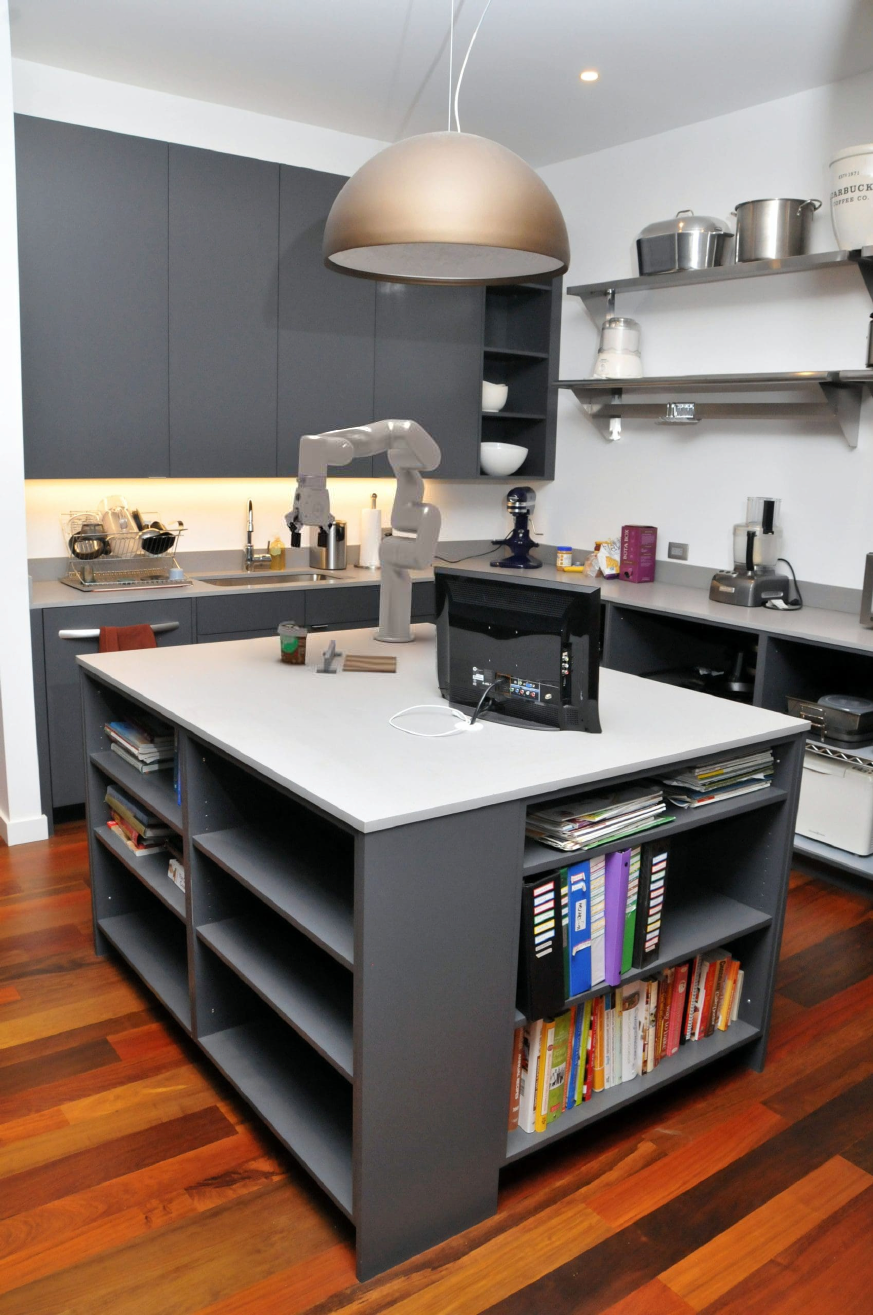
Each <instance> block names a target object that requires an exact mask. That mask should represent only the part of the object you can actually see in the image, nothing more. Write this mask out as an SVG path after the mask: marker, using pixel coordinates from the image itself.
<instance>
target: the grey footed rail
mask: <svg viewBox="0 0 873 1315" xmlns="http://www.w3.org/2000/svg"><path fill="white" fill-rule="evenodd" d="M342 654H343V652H342V651H340V650H337V651H336V640H335V639H331V640H330V642H329V644H328V647H327V650H323V652H322V655H323V657H324V658H323V666H317V668H316V673H321V674H324V673H325V674H336V673H337V672H338V670H337V667H332V664H333V660H334V657H342Z"/></svg>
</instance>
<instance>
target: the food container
mask: <svg viewBox="0 0 873 1315" xmlns="http://www.w3.org/2000/svg"><path fill="white" fill-rule="evenodd" d="M277 633H278V634H279V639H280V640H279V641H280V642H279V643H280V656H281V658H280V660H281V662H282V663H284V664H288V665H296V666H297V665H298V666H300V665H301V666H302V665H303V666H304V665H305V666H306V654H307V652H306V651H307V637H308V628H302V626H299V625H296V624H295V621H294V620H292V621H291V620H290V621H283V622H281V623H279V625H278V627H277Z"/></svg>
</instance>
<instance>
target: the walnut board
mask: <svg viewBox="0 0 873 1315" xmlns="http://www.w3.org/2000/svg"><path fill="white" fill-rule="evenodd" d="M396 671H397V656H392V655H391V656H389V655H387V656H385V655H370V654H369V655H364V654H346V655H345V658H344V662H343V665H342V672H360V673H361V672H362V673H384V674H385V673H386V674H387V673H388V674H396V673H397V672H396Z"/></svg>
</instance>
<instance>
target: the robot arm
mask: <svg viewBox="0 0 873 1315" xmlns="http://www.w3.org/2000/svg"><path fill="white" fill-rule="evenodd" d="M386 451H387V458H388V462H389V464H390V466H391V468H392V470H393V473H394V474H395V478H396V490H395V495H394V499H393V500H394V501H393V504H392V510H391V514H390V526H391V528H392V529H393V530H394V531H396V532H399V533H403V534H405V533H406V534H414V535H416V537H409V536H400V535H389V536H386V537H385V538H383V539H382V540H381V541H380V543H379V545H378V552H377V553H378V560H379V567H380V588H379V590H380V594H379V622H378V632H375V633H373V639H374V640H376V641H381V642H387V643H409V642H412V641H414V640H415V638H416V637H415V635H414V634H412V633H411V613H412V612H411V610H412V608H411V607H412V588H413V583H412V578H411V576H410V572H409V571H408V570H411V571H420V572H421V571H426V570H428V569H429V568H430V567H432V566H431V565H432V564H433V562H434V559H435V555H436V551H437V547H438V541H439V537H440V532H441V528H442V514H441V511H440V509H439V507H437V506H436V505H435V504H432V503H428V502H423V501H424V496H425V495H424V494H425V482H424V480H423V478H422V476H421V473H420V472H419V471H422V472H423V471H424V472H430V471H434V470H435V469H437V468H438V467H439V465H440V464H441V463H440V462H441V459H442V455H441V454H442V453H441V450H440V447H439V445H438V444H437V443H436V441H435V440H434V439H433V438H432V437H431V436H430V435H429V433H428V432H427V431H426V430H425V429H424V428H423V427H422V426H421V425H420V424H419V423H417V422H416V421H414V420H411V419H395V418H394V419H393V418H392V419H390V418H389V419H383V420H379V421H377V422H372V423H368V424H365V425H361V426H354V427H350V428H348V427H347V428H345V429H338V430H332V431H327V432H322V433H319V434H315V435H313V434H312V435H310V434H309V435H308V434H307V435H302V436H301V437H300V439H299V454H298V472H297V473H298V474H297V476H298V477H296V478H295V479H296V480H295V481H296V483H297V487H296V488H295V491H294V496H293V497H294V498H293V504H292V510H291V511H289V512H287V513H286V514H285V515H284V519H285V522H286V526H287V527H288V530H289V532H290V547H291V548H296V549H300V548H301V547H302V546H301V543H302V533H301V532H300V531H301V530H302V528H304V526H307V527H317V529H318V532H317V543H316V544H317V546H316V547H318V548H325V549H326V548H327V547H328V535H329V533H330V530H331V529H332V528H333V526H334V525H333V524H334V522H335V520H336V516H335V515H333V514H332V513H331V502H330V493H329V489H328V488H327V477H328V476H327V474H328V466H335V467H337V466H340V467H342V466H345V465H348V464H350V463H351V461H353V459H354V458H364V457H365V458H366V457H370V456H374V455H378V454H380V453H383V452H386Z"/></svg>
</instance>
